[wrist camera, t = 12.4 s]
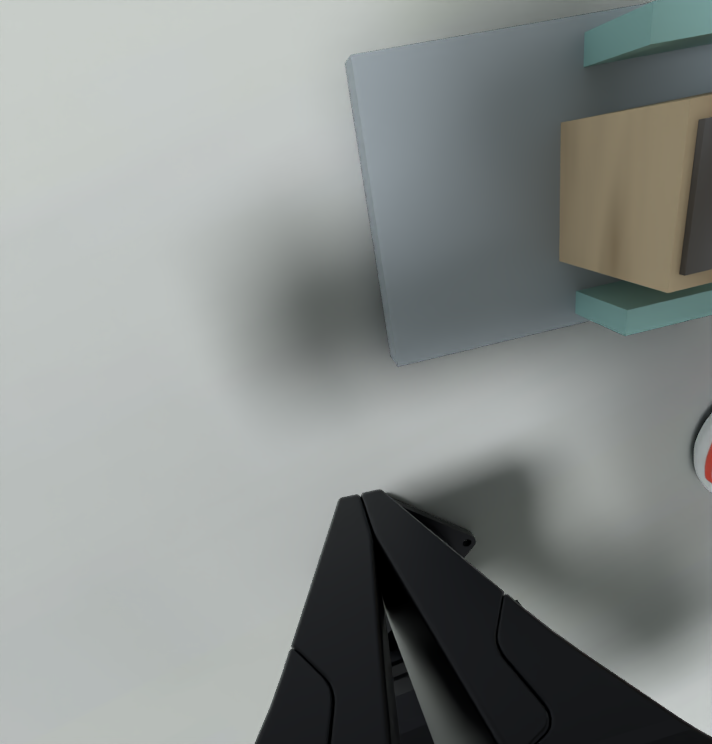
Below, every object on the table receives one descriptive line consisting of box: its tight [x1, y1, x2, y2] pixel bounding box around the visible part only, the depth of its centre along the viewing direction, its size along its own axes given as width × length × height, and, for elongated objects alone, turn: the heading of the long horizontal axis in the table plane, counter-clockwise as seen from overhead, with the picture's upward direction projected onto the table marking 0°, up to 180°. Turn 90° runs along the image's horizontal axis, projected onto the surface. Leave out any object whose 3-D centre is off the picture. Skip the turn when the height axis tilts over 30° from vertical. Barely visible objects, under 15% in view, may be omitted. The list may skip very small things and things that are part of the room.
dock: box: [345, 0, 712, 367], centre depth 16 cm, size 15×11×4 cm
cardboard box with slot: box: [559, 92, 712, 293], centre depth 15 cm, size 6×5×6 cm
